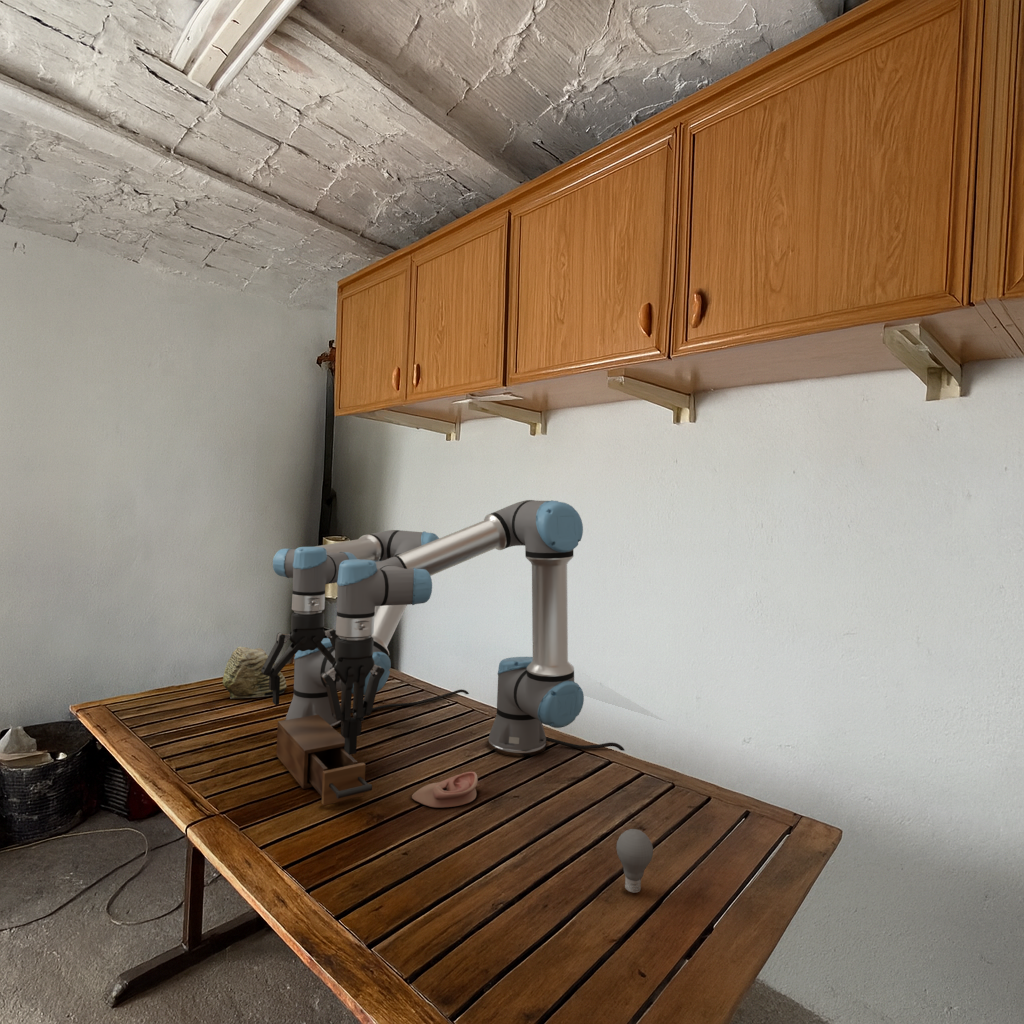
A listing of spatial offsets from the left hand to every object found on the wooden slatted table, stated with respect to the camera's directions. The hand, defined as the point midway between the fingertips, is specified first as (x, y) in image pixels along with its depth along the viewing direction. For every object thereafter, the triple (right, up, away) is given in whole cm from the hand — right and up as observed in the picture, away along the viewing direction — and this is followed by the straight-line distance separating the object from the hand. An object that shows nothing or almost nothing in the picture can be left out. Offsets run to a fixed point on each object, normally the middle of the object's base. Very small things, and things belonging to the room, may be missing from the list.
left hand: (304, 699), depth 152 cm
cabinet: (+3, -15, -4) cm, 15 cm away
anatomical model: (+36, -16, -16) cm, 42 cm away
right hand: (+17, -4, -24) cm, 29 cm away
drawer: (+11, -14, -16) cm, 24 cm away
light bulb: (+70, -18, -47) cm, 86 cm away
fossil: (-31, -12, +46) cm, 56 cm away
